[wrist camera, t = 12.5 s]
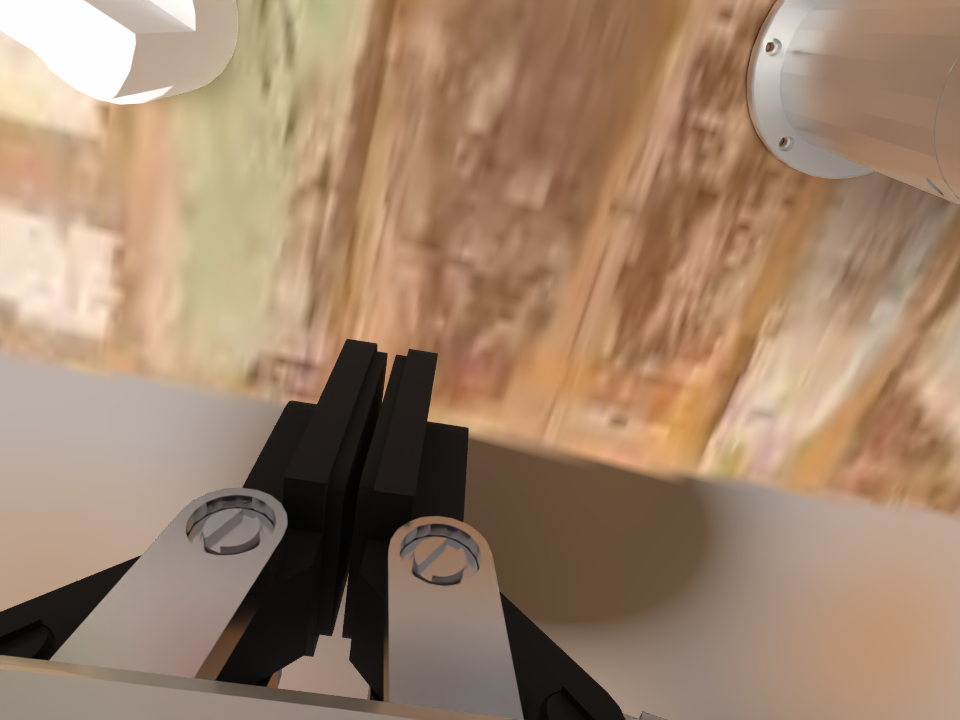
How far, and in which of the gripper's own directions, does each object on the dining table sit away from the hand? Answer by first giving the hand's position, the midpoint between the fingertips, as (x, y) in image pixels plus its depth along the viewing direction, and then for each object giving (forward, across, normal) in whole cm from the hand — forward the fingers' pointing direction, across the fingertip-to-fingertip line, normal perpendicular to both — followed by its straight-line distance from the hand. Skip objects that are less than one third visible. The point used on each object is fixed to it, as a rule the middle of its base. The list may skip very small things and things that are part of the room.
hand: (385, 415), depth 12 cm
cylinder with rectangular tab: (+31, +18, -4) cm, 36 cm away
